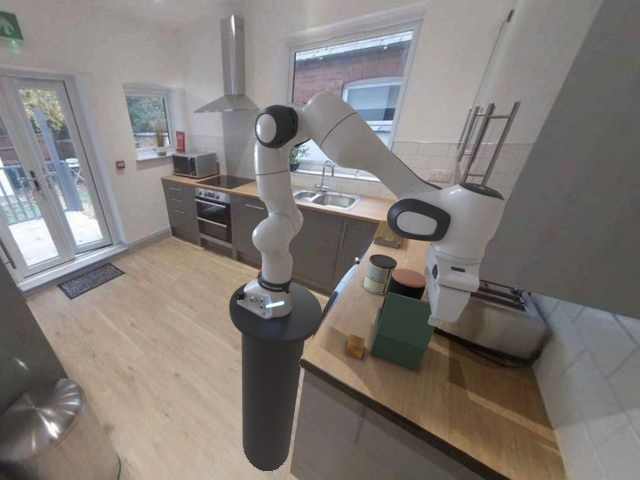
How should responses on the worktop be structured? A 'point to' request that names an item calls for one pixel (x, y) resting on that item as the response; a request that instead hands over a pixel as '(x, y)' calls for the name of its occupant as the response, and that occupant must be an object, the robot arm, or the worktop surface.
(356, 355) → the block
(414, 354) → the chest
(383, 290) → the coffee can
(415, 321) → the green flat square panel
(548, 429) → the worktop surface
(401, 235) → the robot arm
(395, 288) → the coffee jar
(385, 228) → the small cardboard box
